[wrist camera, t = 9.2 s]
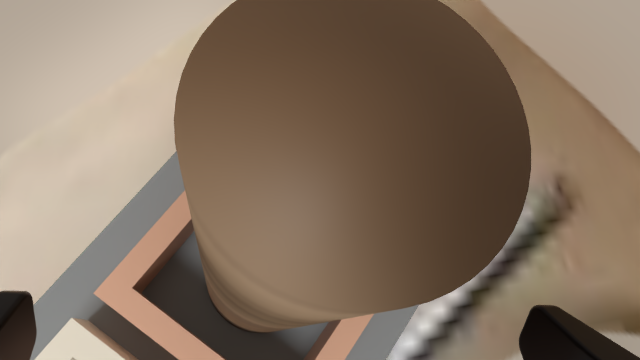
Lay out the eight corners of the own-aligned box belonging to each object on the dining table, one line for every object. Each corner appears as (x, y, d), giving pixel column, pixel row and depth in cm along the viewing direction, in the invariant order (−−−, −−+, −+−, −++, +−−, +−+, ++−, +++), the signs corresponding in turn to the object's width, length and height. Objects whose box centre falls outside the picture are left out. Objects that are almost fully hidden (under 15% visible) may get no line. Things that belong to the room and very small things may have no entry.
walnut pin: (303, 343, 18) (519, 350, 5) (193, 319, 18) (119, 259, 5) (324, 237, 20) (540, 24, 6) (223, 212, 19) (231, -72, 6)
